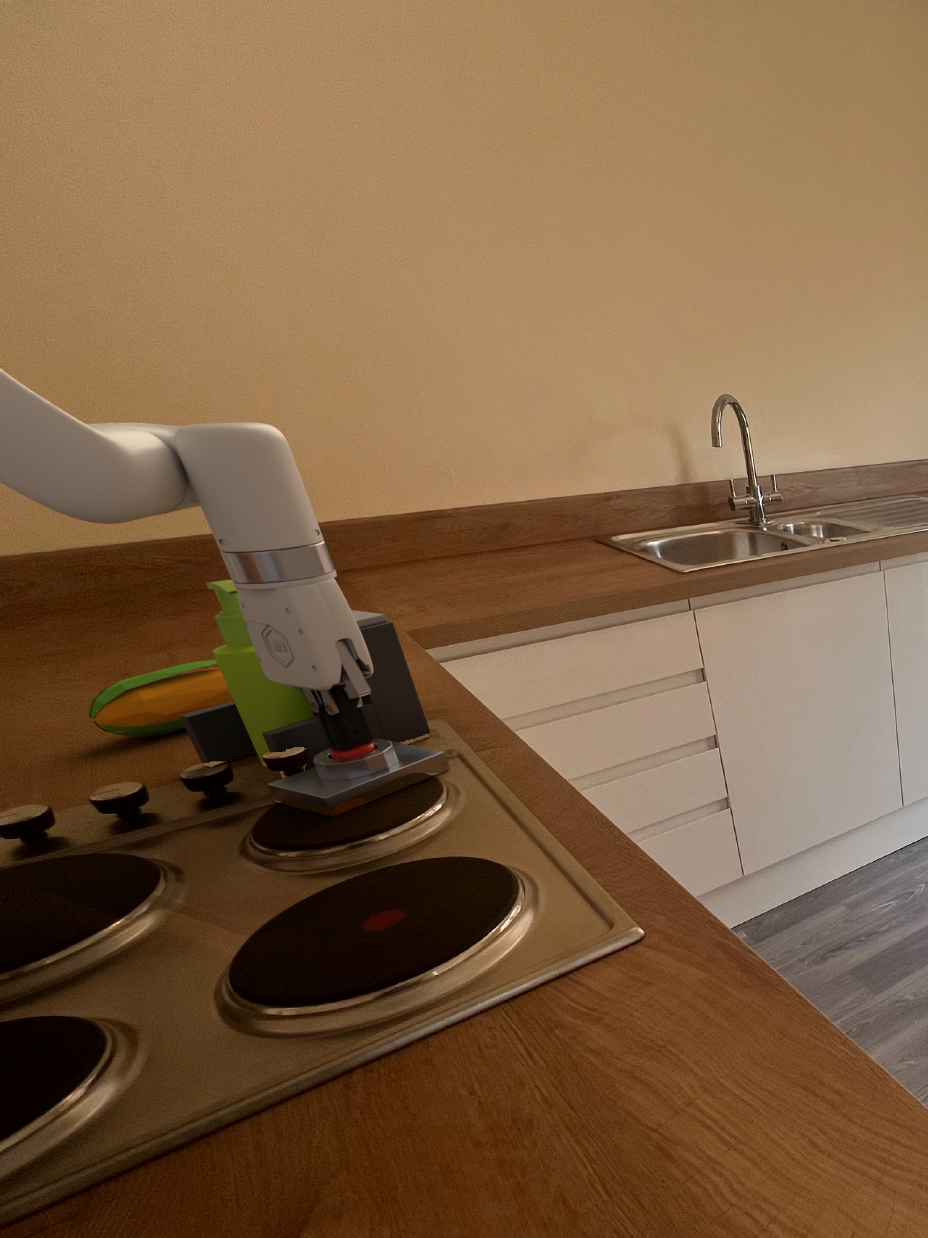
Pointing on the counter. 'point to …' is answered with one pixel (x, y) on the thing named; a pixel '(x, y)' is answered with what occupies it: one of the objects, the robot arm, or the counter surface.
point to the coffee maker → (385, 711)
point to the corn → (158, 700)
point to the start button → (353, 752)
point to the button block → (357, 773)
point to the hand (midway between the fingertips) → (352, 745)
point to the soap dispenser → (252, 675)
